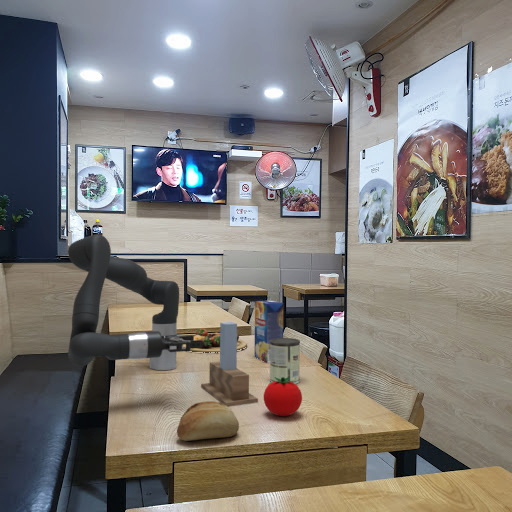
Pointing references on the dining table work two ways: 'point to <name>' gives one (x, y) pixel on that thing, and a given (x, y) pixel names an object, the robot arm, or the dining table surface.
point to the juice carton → (267, 327)
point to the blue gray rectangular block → (228, 346)
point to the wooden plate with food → (212, 342)
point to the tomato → (282, 397)
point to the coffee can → (284, 359)
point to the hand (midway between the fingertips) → (197, 341)
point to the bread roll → (207, 422)
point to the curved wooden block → (229, 386)
